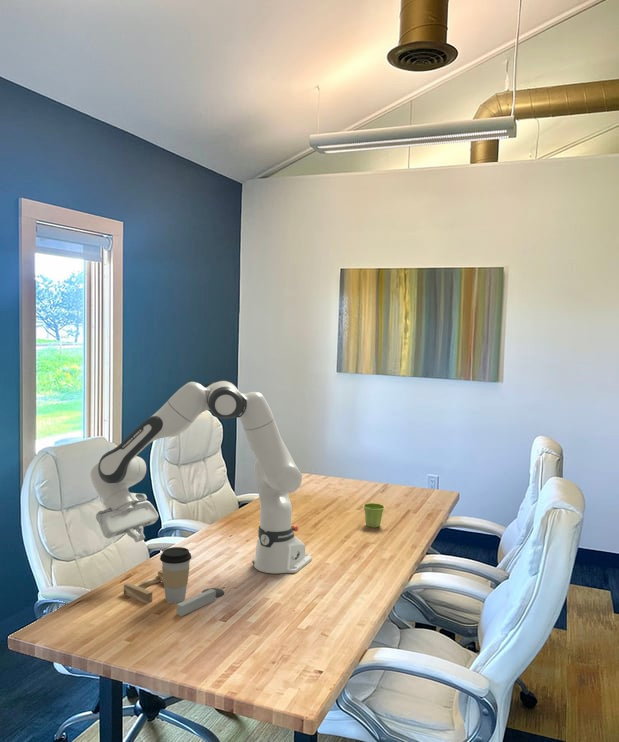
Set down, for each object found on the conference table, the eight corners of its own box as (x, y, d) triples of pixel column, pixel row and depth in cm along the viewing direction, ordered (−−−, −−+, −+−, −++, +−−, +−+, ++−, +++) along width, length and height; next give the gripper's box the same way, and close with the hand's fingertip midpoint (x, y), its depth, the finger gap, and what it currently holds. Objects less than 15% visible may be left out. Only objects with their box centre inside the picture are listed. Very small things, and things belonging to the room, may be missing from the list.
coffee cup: (196, 595, 194) (197, 548, 193) (180, 608, 185) (181, 558, 184) (169, 590, 197) (170, 544, 196) (153, 602, 188) (153, 554, 187)
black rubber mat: (212, 586, 201) (212, 586, 201) (228, 592, 197) (228, 592, 197) (196, 594, 195) (196, 593, 195) (213, 600, 191) (213, 599, 191)
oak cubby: (161, 578, 206) (162, 569, 206) (185, 587, 200) (185, 578, 199) (123, 593, 193) (124, 584, 193) (147, 603, 187) (147, 594, 187)
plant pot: (383, 523, 274) (384, 503, 273) (384, 529, 265) (385, 509, 264) (362, 521, 275) (363, 502, 274) (362, 528, 266) (362, 508, 265)
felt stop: (210, 598, 192) (210, 588, 192) (215, 600, 191) (215, 590, 191) (176, 614, 181) (177, 604, 181) (181, 616, 180) (181, 606, 179)
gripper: (97, 507, 195) (118, 544, 190) (149, 493, 212) (169, 526, 207) (89, 518, 198) (109, 555, 193) (140, 503, 215) (160, 536, 210)
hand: (140, 540), depth 200 cm, fingers closed
